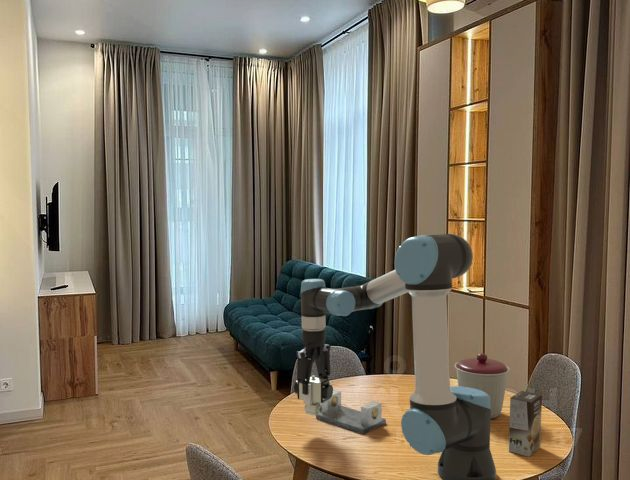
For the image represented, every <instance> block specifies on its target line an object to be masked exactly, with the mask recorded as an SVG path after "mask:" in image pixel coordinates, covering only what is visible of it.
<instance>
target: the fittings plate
mask: <svg viewBox="0 0 630 480" xmlns="http://www.w3.org/2000/svg"><path fill="white" fill-rule="evenodd" d="M320 406H322V412H321V413H319V414H317V415H316V416H315V418H316V420H319V421H323V422H326V423H329V424H332V425H335V426H337V427H341V428H344V429H346V430H350V431H352V432H355V433H358V434H362V435H365V434H367V433H369V432H371V431H373V430H375V429H377V428H380V427H383V426H384V425H385V424H386V423H387V419H386V418H384V417H382V406H383V405H382V402H379V401H375V400H373V401H371V402H368V403H366V404H363V405H361V406H360V410H357V409H355V408H351V407H348V406H344V405H342V391H341V390H337V389H333V394H332V397H331V398H330V399H328V400H327V401H325V402H324V403H321V405H320Z"/></svg>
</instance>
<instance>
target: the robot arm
mask: <svg viewBox="0 0 630 480" xmlns="http://www.w3.org/2000/svg"><path fill="white" fill-rule="evenodd" d="M472 250H473V249H472V247H471V245H470V244H469V242H468V241H467V240H466V239H465V238H464V237H462V236H460V235H458V234H454V233H442V234H441V233H440V234H421V235H415V236H412V237H408V238H407V239H405V240H404V241H403V242H402V243H401V245H399V246H398V248H397V250H396V252H395V257H394V269H393V270H392V271H389V272H387V273H385V274H382V275H381V276H379V277H376V278H374V279H372V280H370V281H368V282H366V283H364V284H361V285H356V286H347V287H341V288H339V287H338V288H330V287H329V288H328V287H326V286H327V285H326V282H325V280H324V279H321V278H307V279H304V280H302V281H301V285H300V286H301V287H300V308H301V310H300V311H301V313H300V315H301V328H302V329H301V341H302V343H303V347H302V349H301V350H300V351H298V350H297V351H296V353H295V354H296V358H297V366H296V367H297V370H296V381H297V382H298V383H301V384H302V393H303V400H302V402H303V404H304V405H305V404H307V405H311V384H309V382H310V377H312V375H311V374H312V369H313V364H314V362H315V367H316V370H317V375H318V378H321V379H328V380H329V377H330V375H331V357H330V352H331V345H330V344H326V343H325V341H326V340H327V338H326V335H327V334H326V332H327V330H326V327H327V326H326V325H327V324H326V321H327V320H326V314H328V315H329V314H330V315H333V316H338V317H341V316H342V317H348V316H349V315H350V314H351V313H352V312H356V311H363V310H373V309H377V308H380V307H381V306H382V305H383V304H384V303H386V302H388V301H390V300H393V299H395V298H397V297H401V296H403V295H404V294H409V295H410V296H411V306H412V307H411V311H412V312H411V314H412V338H413V339H412V340H413V358H414V359H413V363H414V364H413V365H414V383H415V384H414V387H415V389H414V391H413V392H412V393H410V396H409V409H406V411H405V412H404V413H403V415H402V416H401V419H400V420H401V422H400V425H401V432H402V434H403V437H404V439H405V440H406V442H407V443H408V444H409V446H410V447H411V449H413V450H414V451H416V452H417V453H418V454H421V455H423V456H431V455H434V454H440V453H441V454H440V456H439V458H438V462H437V474H438V476H439V477H440V478H441V479H443V480H496V478H497V468H496V464H495V461H494V459H493V454H492V452H491V449H490V447H491V446H490V445H491V443H490V442H491V419H490V416H491V403H490V397H489V395H488V394H487V393H485V392H483V391H481V390H478V389H474V388H469V387H460V386H458V385H457V386H456V385H455V386H451V383H450V382H451V381H450V379H451V378H450V377H451V375H450V355H449V354H450V353H449V329H448V326H449V325H448V309H447V308H448V307H447V306H448V304H447V303H448V302H447V299H448V298H447V296H448V294H449V293H450V292H451V290H452V289H453V279H456V278H459V277H462V276H463V275H465V274H466V273H467V272H468V271H469V270H470V268H471V266H472V264H473V261H474V256H473V255H474V253H473V251H472ZM305 379H306V380H305Z"/></svg>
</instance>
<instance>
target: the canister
mask: <svg viewBox="0 0 630 480" xmlns="http://www.w3.org/2000/svg"><path fill="white" fill-rule="evenodd" d="M454 369H456V378H457V380H456V381H457V386H460V387H469V388H474V389H478V390H481V391H483V392H485V393H487V394H488V395H489V397H490V403H491V416H490V420H491V419H495V418H498V416H500V415H501V413H502V410H503V406H504V400H505V394H506V388H507V386H506V385H507V378H508V374H509V372H510V370H511V369H510V367H509V366H507V365H506V364H505V363H503V362H501V361H499V360H495V359H493V358H492V359H491V358H488V356H487V354H486V353H483V352H479V353H477V355H476V357H467V358H463V359H461V360H459V361H457V362H455V364H454Z"/></svg>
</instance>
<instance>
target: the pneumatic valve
mask: <svg viewBox="0 0 630 480" xmlns="http://www.w3.org/2000/svg"><path fill="white" fill-rule="evenodd" d="M305 380H306V379H305ZM309 384H311V405H307V404H304V411H305V414H306V415H308V416H314V417H316V415H317V414H319V413H321V412H322V406H321V403H324V402H325V401H327V400H328V399H330V398H331V397H332V394H333V390H334V388H333V385H332V384H331V383H330V379H329V378H328V379H321V378H320V377H316V376H315V375H311V376H310V382H309ZM293 392H294V394H295V395H296V396H297V400H302V401H303V393H302V384H301V383H298V382H297V380H296V381H295V382H294V385H293Z"/></svg>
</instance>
